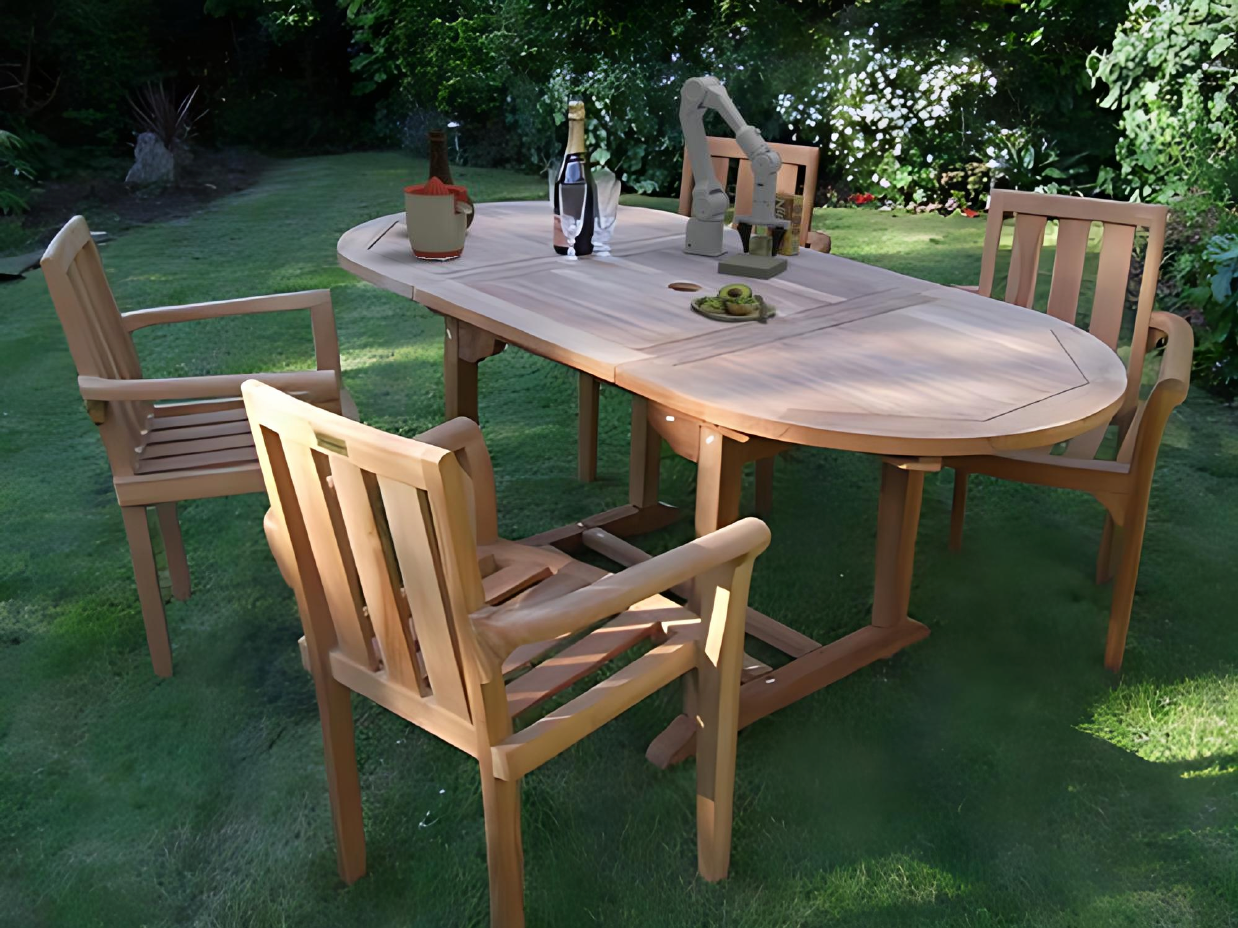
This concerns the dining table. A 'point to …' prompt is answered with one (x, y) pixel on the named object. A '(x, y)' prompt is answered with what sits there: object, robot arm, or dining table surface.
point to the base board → (752, 266)
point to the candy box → (792, 211)
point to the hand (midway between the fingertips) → (760, 254)
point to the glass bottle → (443, 164)
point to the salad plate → (734, 305)
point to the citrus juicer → (436, 219)
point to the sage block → (760, 245)
